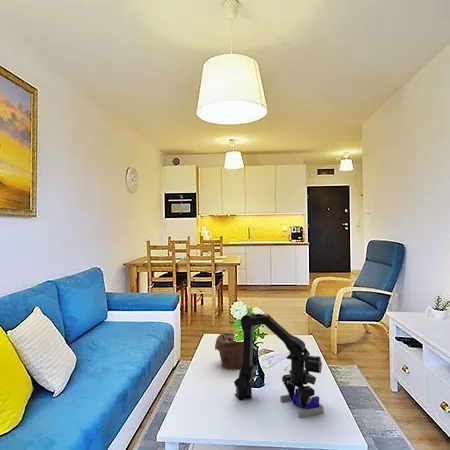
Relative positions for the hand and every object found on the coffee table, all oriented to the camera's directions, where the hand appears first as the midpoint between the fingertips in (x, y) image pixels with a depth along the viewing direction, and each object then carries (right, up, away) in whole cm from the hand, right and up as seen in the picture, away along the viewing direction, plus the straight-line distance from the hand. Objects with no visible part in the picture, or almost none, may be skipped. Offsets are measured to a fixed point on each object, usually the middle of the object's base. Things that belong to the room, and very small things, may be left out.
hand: (297, 403), depth 180 cm
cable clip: (+3, -1, 0) cm, 4 cm away
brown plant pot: (-28, -1, +52) cm, 59 cm away
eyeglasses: (+4, -1, +53) cm, 54 cm away
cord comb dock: (+2, -1, 0) cm, 2 cm away
